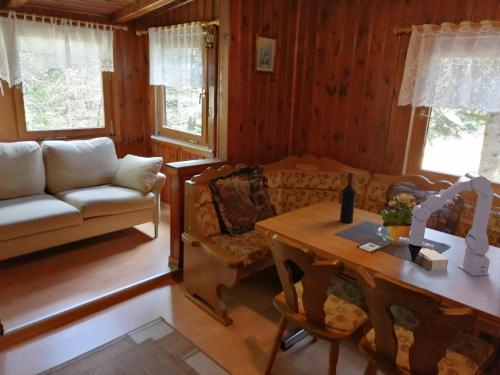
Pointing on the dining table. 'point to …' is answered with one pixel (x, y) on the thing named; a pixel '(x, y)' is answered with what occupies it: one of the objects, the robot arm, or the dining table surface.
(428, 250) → the cabinet
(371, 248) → the chocolate bar
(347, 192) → the wine bottle
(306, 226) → the dining table surface
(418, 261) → the door
